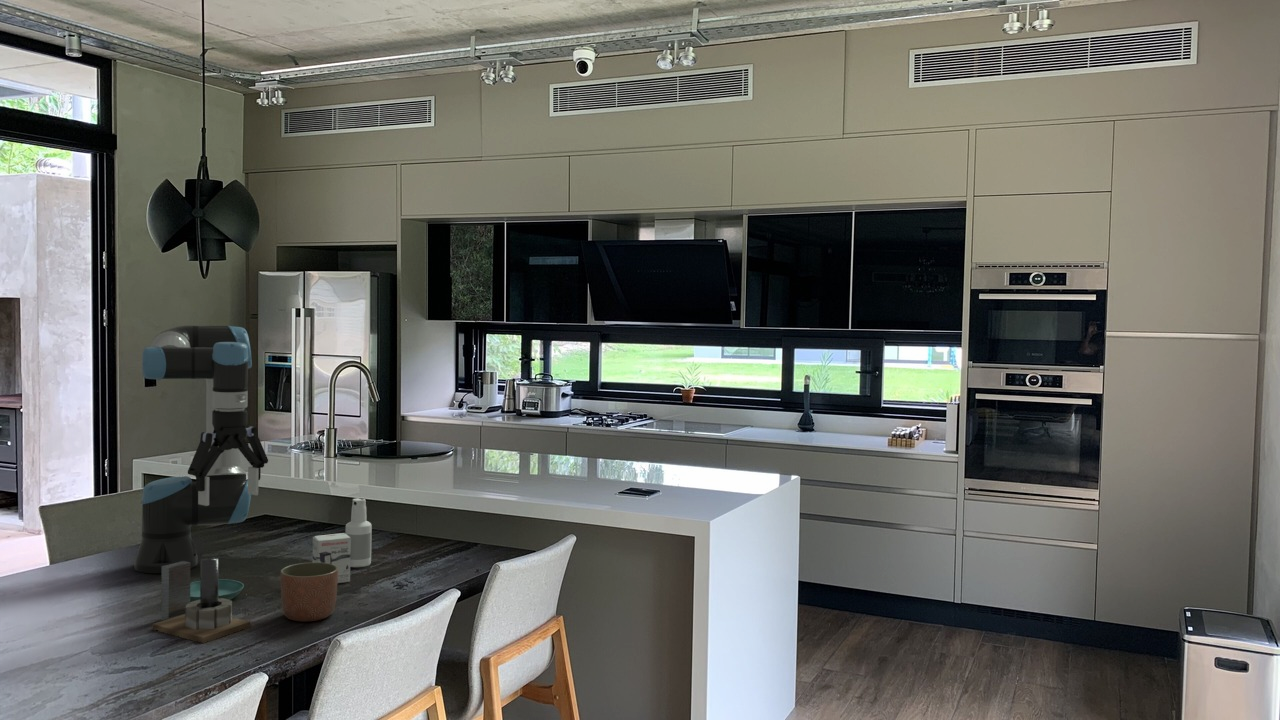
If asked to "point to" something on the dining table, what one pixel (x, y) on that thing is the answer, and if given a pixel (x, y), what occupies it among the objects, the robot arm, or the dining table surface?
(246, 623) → the socket board
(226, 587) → the saucer
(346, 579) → the ink box
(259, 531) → the dining table surface
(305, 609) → the planter
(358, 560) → the spray bottle
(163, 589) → the grey rectangular block
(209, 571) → the cylinder
